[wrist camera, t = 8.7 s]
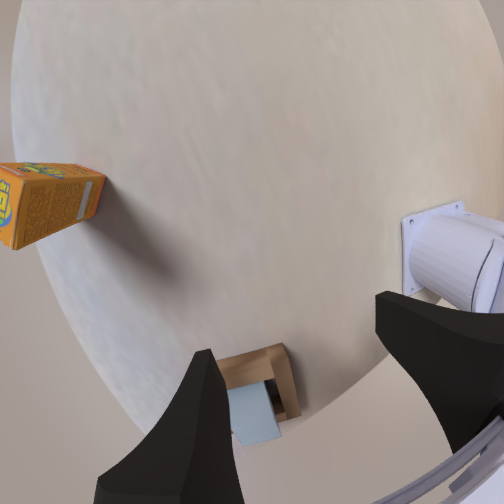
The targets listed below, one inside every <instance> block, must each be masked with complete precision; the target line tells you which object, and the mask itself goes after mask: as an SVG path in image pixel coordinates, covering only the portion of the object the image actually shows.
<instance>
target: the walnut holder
mask: <svg viewBox="0 0 504 504" xmlns="http://www.w3.org/2000/svg"><path fill="white" fill-rule="evenodd" d="M216 363H217V365H218V367H219V369H220V372H221V374H222V376H223V378H224V380H225V383H226V388H227V390H230V389H234V388H238V387H242V386H246V385H250V384H253V383H257V382H261V381H264V380H268V379H271V378H274V379H275V382H276V385H277V389H278V392H279V395H278V396H275V397H271V398H270V399H271V402H272V406H273V409H274V413H275V416H276V419H277V423H278V422H282V421H285V420H288V419H292V418H295V417H298V416H301V411H300V407H299V402H298V398H297V393H296V389H295V384H294V380H293V375H292V371H291V366H290V362H289V359H288V356H287V354H286V352H285V349H284V347H283V345H282V343H279V344H276V345H273V346H269V347H266V348H263V349H259V350H256V351H252V352H248V353H245V354H241V355H237V356H234V357H230V358H226V359H222V360H218V361H216ZM231 434H233V431H232V430H231Z"/></svg>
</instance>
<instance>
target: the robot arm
mask: <svg viewBox="0 0 504 504" xmlns="http://www.w3.org/2000/svg"><path fill="white" fill-rule="evenodd" d="M410 220H411V223H410ZM402 243H403V295H401V294H398V293H394V292H390V291H385V292H382V293H380V294H377V295H375V299H376V328H375V332H376V334H377V335H378V337H379V338H380V340H381V342H382V343H383V345H384V346H385V347H386V349H387V350H388V351H389V352H390V354H391V355H392V356H393V357H394V358H395V359H396V360H397V361H398V363H399V364H400V365H401V366H402V367H403V368H404V369H405V370H406V371H407V373H408V374H409V375H410V376H411V377H412V378H413V380H414V381H415V382H416V383H417V385H418V386H419V388H420V389H421V391H422V392H423V394H424V395H425V397H426V398H427V400H428V402H429V403H430V405H431V407H432V408H433V410H434V412H435V414H436V415H437V418H438V420H439V422H440V424H441V426H442V428H443V430H444V432H445V434H446V437H447V439H448V442H449V444H450V447H451V450H452V453H453V454H454V455H452V456H451V457H450V458H448V459H447V460H445V461H444V462H443V463H441V464H440V465H439V466H437V467H435V468H434V469H432V470H431V471H430V472H428V473H426V474H425V475H423V476H422V477H420V478H418V479H417V480H415V481H413V482H412V483H410V484H408V485H407V486H405V487H403V488H401V489H399V490H398V491H396V492H394V493H392V494H390V495H388V496H386V497H384V498H382V499H380V500H378V501H376V502H374V503H371V504H409V503H411V502H413V501H414V500H416V499H418V498H419V497H421V496H422V495H424V494H426V493H427V492H429V491H431V490H432V489H434V488H435V487H436V486H438V485H440V484H441V483H442V482H444V481H445V480H446V479H448V478H449V477H451V476H452V475H453V474H455V473H456V472H457V471H459V470H460V469H461V468H462V467H464V466H465V465H466V464H467V463H468V462H470V461H471V460H472V459H473V458H474V457H475V456H477V455H478V454H479V453H480V452H481V453H480V457H478V458H477V460H475V461H474V462H473V463H472V464H471V465H470V466H469V467H468V468H467V469H466V470H465V471H464V472H463V473H462V474H461V475H460V476H459V477H458V478H457V479H456V480H455V481H453V482H452V483H451V484H450V485H449V489H450V490H451V492H452V495H450V496H449V497H448V498H446V499H445V500H444V501H442V502H441V503H439V504H504V223H503V222H500V221H497V220H494V219H491V218H488V217H485V216H482V215H479V214H475V213H472V212H469V211H465V210H464V202H463V201H460V200H459V201H456V202H453V203H450V204H446V205H443V206H440V207H437V208H433V209H430V210H427V211H424V212H420V213H417V214H414V215H410V216H407V217H404V218H403V219H402ZM426 287H427V288H428V289H430V290H431V291H433V292H434V293H436V294H437V295H439V296H440V297H442V298H443V299H445V300H446V301H448V302H449V303H451V304H452V305H454V306H455V307H456V308H458V309H459V310H455V309H450V308H446V307H442V306H438V305H434V304H431V303H427V302H424V301H420V300H417V299H414V298H411V297H408V296H409V295H411V294H413V293H416V292H418V291H420V290H422V289H424V288H426ZM411 288H412V289H411ZM404 295H405V296H404ZM93 504H245V503H244V499H243V495H242V492H241V488H240V483H239V479H238V475H237V471H236V466H235V461H234V456H233V448H232V436H231V421H230V406H229V399H228V393H227V388H226V383H225V380H224V378H223V376H222V374H221V372H220V369H219V367H218V365H217V363H216V361H215V358H214V356H213V354H212V351H211V349H206V350H202V351H197V352H195V354H194V356H193V358H192V361H191V363H190V365H189V367H188V370H187V372H186V374H185V376H184V378H183V380H182V382H181V384H180V386H179V388H178V390H177V392H176V394H175V395H174V397H173V399H172V401H171V402H170V404H169V406H168V407H167V409H166V411H165V412H164V414H163V415H162V417H161V418H160V419H159V421H158V422H157V424H156V425H155V426H154V428H153V429H152V430H151V431H150V432H149V433H148V434H147V436H146V437H145V438H144V439H143V440H142V442H140V444H139V445H138V446H137V447H136V448H135V449H134V450H133V451H131V452H130V453H129V454H128V455H127V456H126V457H125V458H124V459H122V460H121V461H120V462H119V463H118V464H116V465H115V466H114V467H112V468H111V469H109V470H108V471H107V472H105V473H104V474H102V475H101V476H99V477H98V480H97V486H96V491H95V497H94V503H93Z"/></svg>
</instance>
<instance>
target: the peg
mask: <svg viewBox="0 0 504 504" xmlns="http://www.w3.org/2000/svg"><path fill="white" fill-rule="evenodd" d="M227 393H228V399H229V406H230V421H231V430H232V431H233V433H234V434H235V436H236V437H237V439H238V440H239V442H240V443H241V445H242V446H247V445H252V444H256V443H260V442H264V441H268V440H271V439H275V438H279V437H281V433H280V430H279V426H278V423H277V419H276V416H275V413H274V409H273V406H272V402H271V399H270V395H269V392H268V389H267V386H266V384H265V381H261V382H257V383H253V384H250V385H246V386H242V387H238V388H234V389H230V390H227Z"/></svg>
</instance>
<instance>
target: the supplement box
mask: <svg viewBox="0 0 504 504" xmlns="http://www.w3.org/2000/svg"><path fill="white" fill-rule="evenodd" d="M105 178H106V176H105V175H104V174H101V173H99V172H96V171H94V170H91V169H88V168H85V167H82V166H79V165H76V164H60V163H0V240H2V241H3V243H4V245H6V246H8V247H9V248H11V249H13V250H19V249H21V248H23V247H25V246H27V245H29V244H31V243H33V242H36V241H38V240H40V239H42V238H44V237H46V236H49V235H51V234H53V233H55V232H58V231H60V230H62V229H65V228H67V227H69V226H71V225H74V224H76V223H79V222H81V221H83V220H86V219H88V218H90V217H93V216H94V215H95V213H96V209H97V205H98V202H99V198H100V195H101V191H102V188H103V184H104V181H105Z"/></svg>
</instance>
